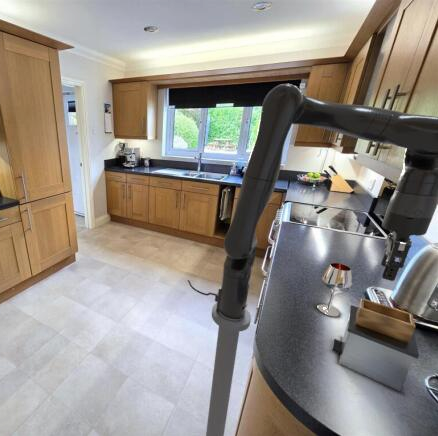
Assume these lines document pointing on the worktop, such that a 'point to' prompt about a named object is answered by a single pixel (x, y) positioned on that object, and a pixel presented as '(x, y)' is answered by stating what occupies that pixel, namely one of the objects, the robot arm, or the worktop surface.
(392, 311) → the open wooden box
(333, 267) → the wineglass
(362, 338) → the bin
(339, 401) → the worktop surface
